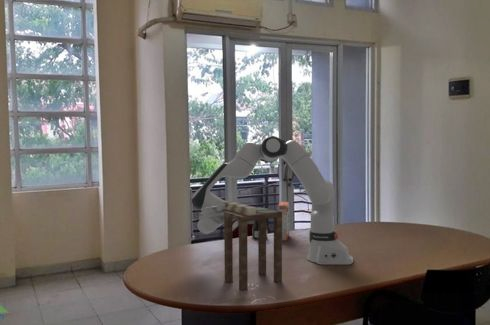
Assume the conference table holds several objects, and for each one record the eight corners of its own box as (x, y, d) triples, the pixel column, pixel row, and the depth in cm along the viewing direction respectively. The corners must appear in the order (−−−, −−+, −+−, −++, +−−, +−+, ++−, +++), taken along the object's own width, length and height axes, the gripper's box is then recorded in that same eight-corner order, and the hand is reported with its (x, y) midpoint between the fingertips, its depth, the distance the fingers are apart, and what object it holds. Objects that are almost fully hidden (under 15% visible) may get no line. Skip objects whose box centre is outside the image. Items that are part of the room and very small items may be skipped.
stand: (224, 281, 195) (224, 211, 193) (262, 272, 206) (262, 206, 204) (242, 290, 184) (242, 216, 181) (281, 281, 194) (282, 211, 192)
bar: (221, 207, 203) (221, 201, 202) (227, 207, 205) (227, 200, 204) (248, 215, 184) (248, 208, 184) (255, 214, 186) (255, 207, 186)
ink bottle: (255, 240, 266) (255, 220, 265) (249, 237, 274) (249, 217, 274) (270, 238, 270) (270, 218, 269) (263, 235, 278) (263, 216, 277)
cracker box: (287, 241, 264) (287, 205, 262) (276, 240, 265) (277, 205, 264) (289, 235, 278) (290, 201, 276) (280, 235, 279) (280, 201, 277)
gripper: (195, 212, 205) (207, 200, 195) (234, 207, 216) (248, 196, 206) (198, 225, 203) (211, 214, 192) (237, 220, 214) (252, 209, 203)
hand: (230, 204), depth 199 cm, fingers open, 5 cm apart
